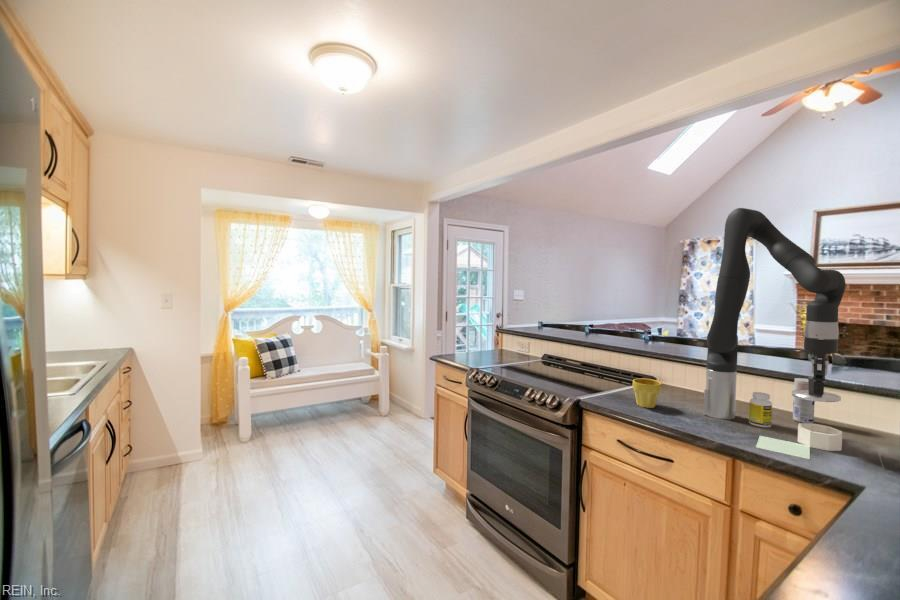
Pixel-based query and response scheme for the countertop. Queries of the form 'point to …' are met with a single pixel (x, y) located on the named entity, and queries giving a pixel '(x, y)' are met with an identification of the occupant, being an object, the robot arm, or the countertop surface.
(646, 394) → the plant pot
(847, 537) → the countertop surface
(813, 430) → the bowl
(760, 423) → the pill bottle
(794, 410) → the beverage can
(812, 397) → the lid
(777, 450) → the mat
